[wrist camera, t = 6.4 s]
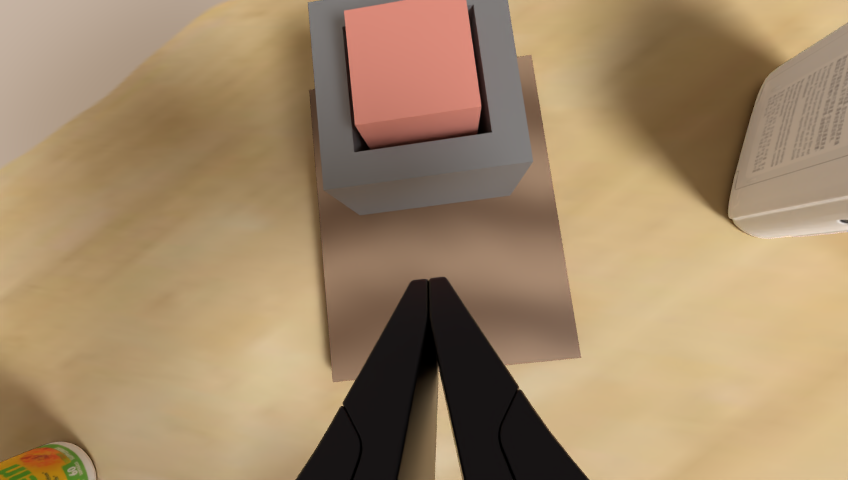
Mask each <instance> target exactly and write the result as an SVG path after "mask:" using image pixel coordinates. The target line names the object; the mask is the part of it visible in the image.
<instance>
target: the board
mask: <svg viewBox="0 0 848 480" xmlns="http://www.w3.org/2000/svg"><path fill="white" fill-rule="evenodd" d="M517 62H518V68H519V75H520V81H521V87H522V94H523V100H524V106H525V112H526V119H527V125H528V131H529V138H530V144H531V150H532V157H533V163H532V164H531V165H530V167H529V168H528V170H527V171H526V173H525V174H524V176H523V177H522V179H521V180H520V182H519V183H518V185H517V186H516V188H515V189H514V191H513V192H512V194H511V195H510V196H503V197H495V198H488V199H480V200H472V201H465V202H457V203H450V204H442V205H434V206H427V207H419V208H412V209H404V210H396V211H389V212H381V213H374V214H366V215H359V214H357V213H356V212H354V211H353V210H352V209H350V208H349V207H347V206H346V205H344V204H343V203H341V202H340V201H338V200H337V199H336V198H334V197H333V196H331V195H330V194H328V193H327V192H325V191H324V190H323V178H322V166H321V154H320V142H319V130H318V118H317V106H316V94H315V89H313V90H309V92H310V105H311V117H312V129H313V142H314V154H315V167H316V179H317V192H318V204H319V216H320V229H321V241H322V254H323V266H324V278H325V291H326V303H327V316H328V328H329V340H330V353H331V365H332V378H333V382H339V381H350V380H356V378H357V376H358V374H359V373H360V371H361V369H362V367H363V365H364V364H365V362H366V360H367V358H368V357H369V355H370V353H371V351H372V349H373V348H374V346H375V344H376V342H377V340H378V339H379V337H380V335H381V333H382V331H383V330H384V328H385V326H386V324H387V323H388V321H389V319H390V317H391V315H392V314H393V312H394V310H395V308H396V306H397V305H398V303H399V301H400V299H401V297H402V296H403V294H404V292H405V290H406V289H407V287H408V285H409V283H410V282H411V281H412V280H418V279H427V280H428V281H429V279H430V278H435V277H446V278H447V279H448V281H449V282H450V284H451V285H452V287H453V288H454V290H455V291H456V293H457V294H458V296H459V297H460V299H461V300H462V302H463V303H464V305H465V306H466V308H467V309H468V311H469V312H470V314H471V315H472V317H473V318H474V320H475V321H476V323H477V324H478V326H479V327H480V329H481V330H482V332H483V333H484V335H485V336H486V338H487V339H488V341H489V342H490V344H491V345H492V347H493V348H494V350H495V351H496V353H497V354H498V356H499V357H500V359H501V360H502V362H503V363H504V365H512V364H522V363H533V362H543V361H553V360H563V359H573V358H581V354H580V348H579V342H578V336H577V330H576V324H575V318H574V312H573V306H572V300H571V293H570V287H569V281H568V275H567V269H566V263H565V257H564V251H563V245H562V239H561V233H560V227H559V220H558V214H557V208H556V202H555V196H554V190H553V184H552V178H551V172H550V166H549V160H548V153H547V147H546V141H545V135H544V129H543V123H542V117H541V111H540V105H539V99H538V93H537V87H536V80H535V74H534V68H533V62H532V56H531V55H527V56H521V57H517ZM438 372H440V371H439V366H438Z"/></svg>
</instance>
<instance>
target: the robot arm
mask: <svg viewBox="0 0 848 480" xmlns="http://www.w3.org/2000/svg"><path fill="white" fill-rule="evenodd" d="M438 366H439V371H440V376H441V381H442V386H443V391H444V395H445V400H446V405H447V410H448V414H449V419H450V424H451V428H452V433H453V438H454V443H455V447H456V452H457V457H458V462H459V466H460V471H461V476H462V480H589V479H588V478H587V476H586V475H585V474H584V473H583V472H582V470H581V469H580V468H579V467H578V466H577V464H576V463H575V462H574V461H573V460H572V458H571V457H570V456H569V455H568V453H567V452H566V451H565V450H564V448H563V447H562V446H561V445H560V443H559V442H558V441H557V439H556V438H555V437H554V436H553V434H552V433H551V432H550V431H549V429H548V428H547V426H546V425H545V424H544V422H543V421H542V419H541V418H540V416H539V415H538V414H537V412H536V411H535V409H534V408H533V407H532V405H531V404H530V402H529V401H528V399H527V398H526V396H525V395H524V393H523V392H522V390H519V386H518V384H517V383H516V381H515V380H514V378H513V377H512V375H511V374H510V372H509V371H508V369H507V368H506V366H505V365H504V363H503V362H502V360H501V359H500V357H499V356H498V354H497V353H496V351H495V350H494V348H493V347H492V345H491V344H490V342H489V341H488V339H487V338H486V336H485V335H484V333H483V332H482V330H481V329H480V327H479V326H478V324H477V323H476V321H475V320H474V318H473V317H472V315H471V314H470V312H469V311H468V309H467V308H466V306H465V305H464V303H463V302H462V300H461V299H460V297H459V296H458V294H457V293H456V291H455V290H454V288H453V287H452V285H451V284H450V282H449V281H448V279H447V278H446V277H435V278H430V279H429V281H428V280H427V279H418V280H412V281H411V282H410V283H409V285H408V287H407V289H406V290H405V292H404V294H403V296H402V297H401V299H400V301H399V303H398V305H397V306H396V308H395V310H394V312H393V314H392V315H391V317H390V319H389V321H388V323H387V324H386V326H385V328H384V330H383V331H382V333H381V335H380V337H379V339H378V340H377V342H376V344H375V346H374V348H373V349H372V351H371V353H370V355H369V357H368V358H367V360H366V362H365V364H364V365H363V367H362V369H361V371H360V373H359V374H358V376H357V378H356V380H355V382H354V383H353V385H352V387H351V389H350V391H349V392H348V394H347V396H346V398H345V399H344V401H343V406H341V407H340V408H339V410H338V412H337V413H336V415H335V417H334V419H333V421H332V422H331V424H330V426H329V428H328V429H327V431H326V433H325V434H324V436H323V438H322V439H321V441H320V443H319V444H318V446H317V448H316V450H315V451H314V453H313V454H312V456H311V457H310V459H309V460H308V462H307V463H306V465H305V466H304V468H303V469H302V471H301V472H300V474H299V475H298V477H297V478H296V480H435V457H436V430H437V403H438Z"/></svg>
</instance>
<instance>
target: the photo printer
mask: <svg viewBox="0 0 848 480" xmlns="http://www.w3.org/2000/svg"><path fill="white" fill-rule="evenodd" d="M728 216H729V218H730V219H733V222H734V224H735V225H736V226H737V227H738V228H739V229H741V230H742V231H744V232H745V233H747V234H749V235H752V236H755V237H759V238H767V239H770V238H780V237H789V236H791V237H803V236H813V235H823V234H833V233H842V232H848V23H846V24H845V25H843V26H841V27H840V28H838V29H837V30H835V31H834V32H832V33H831V34H829V35H827V36H826V37H825V38H823V39H821V40H820V41H818V42H817V43H815V44H813V45H812V46H810V47H809V48H807V49H806V50H804V51H802V52H801V53H799V54H798V55H796V56H795V57H793V58H791V59H790V60H788V61H787V62H785V63H784V64H782V65H781V66H779V67H778V68H776V69H775V70H774V71H772V72H771V73H770V74H769V75H768V76H767V78H766V79H765V81H764V82H763V84H762V86H761V89H760V91H759V93H758V95H757V99H756V101H755V105H754V108H753V112H752V115H751V118H750V122H749V125H748V129H747V132H746V136H745V139H744V143H743V147H742V150H741V154H740V158H739V162H738V165H737V169H736V173H735V176H734V180H733V185H732V189H731V194H730V199H729V207H728Z"/></svg>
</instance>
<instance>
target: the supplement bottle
mask: <svg viewBox="0 0 848 480" xmlns="http://www.w3.org/2000/svg"><path fill="white" fill-rule="evenodd" d="M0 480H96V472H95V468H94V465H93V463H92V461H91V459H90V458H89V456H88V455H87V454H86V453H85V452H84V451H83V450H82V449H81V448H79V447H78V446H76V445H74V444H72V443H68V442H53V443H49V444H46V445H43V446H40V447H37V448H35V449H32V450H30V451H27V452H25V453H22V454H20V455H17V456H15V457H12V458H10V459H8V460H5V461H3V462H0Z"/></svg>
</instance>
